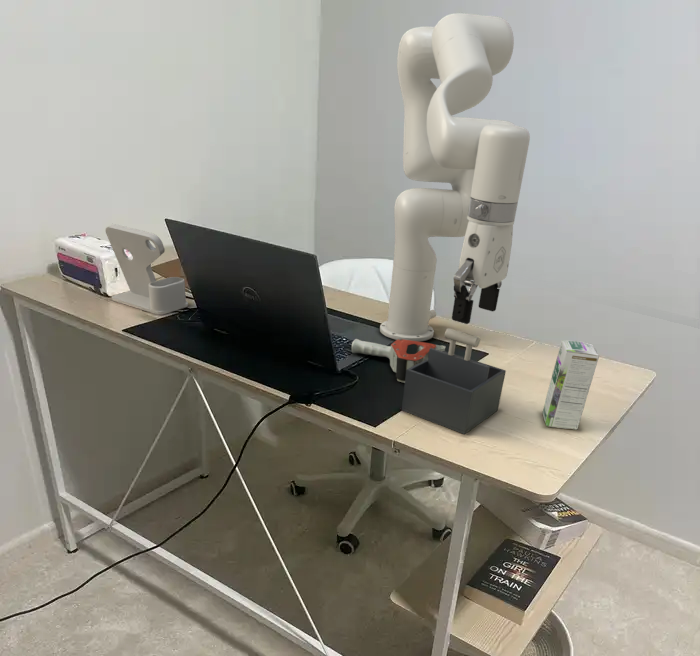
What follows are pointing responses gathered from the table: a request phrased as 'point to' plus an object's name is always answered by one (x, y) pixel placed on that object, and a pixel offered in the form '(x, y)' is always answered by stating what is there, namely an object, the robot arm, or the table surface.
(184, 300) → the phone holder
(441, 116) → the robot arm
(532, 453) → the table surface
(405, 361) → the tape dispenser
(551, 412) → the syrup box
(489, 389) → the caddy
